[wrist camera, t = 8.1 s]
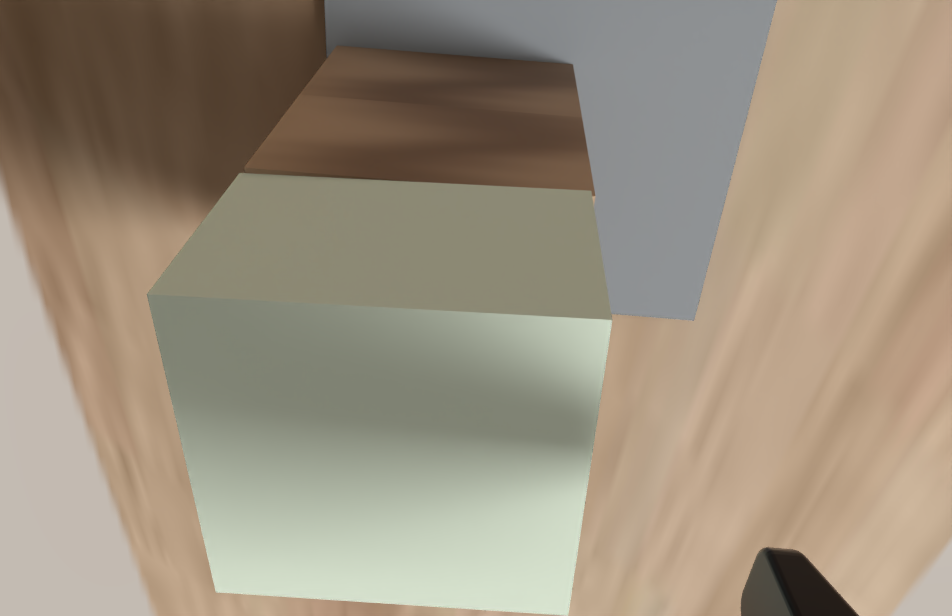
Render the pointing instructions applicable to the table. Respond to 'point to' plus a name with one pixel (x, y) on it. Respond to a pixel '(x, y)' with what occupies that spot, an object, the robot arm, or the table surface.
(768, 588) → the robot arm
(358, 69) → the walnut block lower
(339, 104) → the walnut block upper
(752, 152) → the table surface
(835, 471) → the table surface
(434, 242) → the sage block
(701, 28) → the slate mat
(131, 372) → the table surface
